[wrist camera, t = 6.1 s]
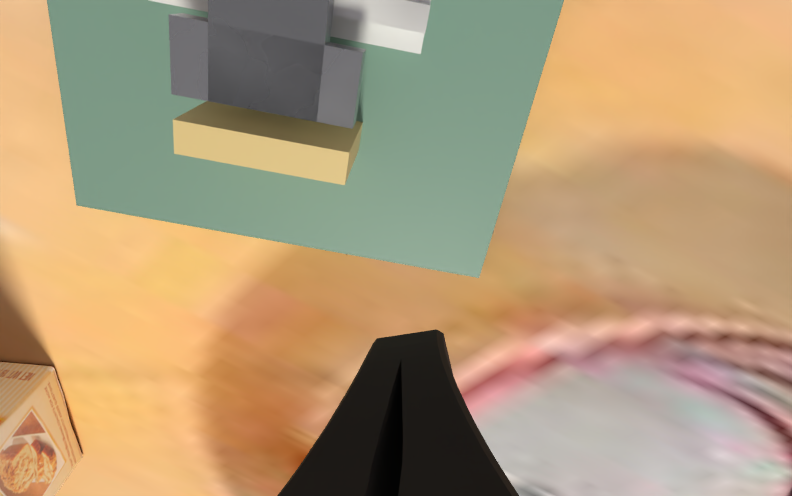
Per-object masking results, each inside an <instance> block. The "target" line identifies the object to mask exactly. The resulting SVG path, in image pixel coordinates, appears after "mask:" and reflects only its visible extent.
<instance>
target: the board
mask: <svg viewBox="0 0 792 496" xmlns="http://www.w3.org/2000/svg"><path fill="white" fill-rule="evenodd" d="M563 2H564V0H334V7H333V17H332V26H331V35H330V42H332V43H337V44H342V45H347V46H352V47H357V48H362V49H366V54H365V61H364V68H363V75H362V82H361V90H360V97H359V104H358V111H357V118H356V123H355V125H354V127H353V129H351V128H346V127H341V126H335V125H330V124H325V123H320V122H314V121H309V120H304V119H299V118H293V117H288V116H283V115H278V114H272V113H267V112H262V111H257V110H251V109H246V108H241V107H236V106H230V105H225V104H220V103H215V102H209V101H204V100H199V99H194V98H188V97H183V96H178V95H173V94H171V71H170V43H169V15H168V14H177V13H185V14H190V15H195V16H200V17H205V18H208V0H47V4H48V10H49V17H50V24H51V31H52V38H53V45H54V52H55V59H56V66H57V72H58V79H59V86H60V93H61V100H62V107H63V114H64V121H65V128H66V135H67V141H68V148H69V155H70V162H71V169H72V176H73V183H74V190H75V197H76V204H77V205H78V206H83V207H89V208H94V209H100V210H105V211H111V212H116V213H122V214H127V215H133V216H139V217H144V218H150V219H155V220H161V221H166V222H172V223H177V224H183V225H188V226H194V227H200V228H205V229H211V230H216V231H222V232H227V233H233V234H238V235H244V236H249V237H255V238H261V239H266V240H272V241H277V242H283V243H288V244H294V245H299V246H305V247H310V248H316V249H322V250H327V251H333V252H338V253H344V254H349V255H355V256H360V257H366V258H371V259H377V260H383V261H388V262H394V263H399V264H405V265H410V266H416V267H421V268H427V269H432V270H438V271H444V272H449V273H455V274H460V275H466V276H471V277H477V278H479V276H480V273H481V270H482V266H483V263H484V260H485V257H486V253H487V250H488V247H489V243H490V240H491V237H492V234H493V230H494V227H495V224H496V221H497V217H498V214H499V211H500V208H501V204H502V201H503V198H504V194H505V191H506V188H507V185H508V181H509V178H510V175H511V172H512V168H513V165H514V162H515V159H516V155H517V152H518V149H519V145H520V142H521V139H522V136H523V132H524V129H525V126H526V123H527V119H528V116H529V113H530V110H531V106H532V103H533V100H534V96H535V93H536V90H537V87H538V83H539V80H540V77H541V74H542V70H543V67H544V64H545V61H546V57H547V54H548V51H549V47H550V44H551V41H552V38H553V34H554V31H555V28H556V25H557V21H558V18H559V15H560V12H561V8H562V5H563Z"/></svg>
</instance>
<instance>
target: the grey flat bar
mask: <svg viewBox="0 0 792 496" xmlns="http://www.w3.org/2000/svg"><path fill="white" fill-rule="evenodd" d="M333 7H334V0H208V18H205V17H200V16H195V15H190V14H185V13H177V14H168V15H169V43H170V71H171V94H173V95H178V96H183V97H188V98H194V99H199V100H204V101H209V102H215V103H220V104H225V105H230V106H236V107H241V108H246V109H251V110H257V111H262V112H267V113H272V114H278V115H283V116H288V117H293V118H299V119H304V120H309V121H314V122H320V123H325V124H330V125H335V126H341V127H346V128H351V129H353V127H354V125H355V123H356V118H357V111H358V104H359V97H360V90H361V82H362V75H363V68H364V61H365V54H366V49H362V48H357V47H352V46H347V45H342V44H337V43H332V42H330V35H331V26H332V17H333Z"/></svg>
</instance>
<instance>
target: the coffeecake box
mask: <svg viewBox="0 0 792 496" xmlns="http://www.w3.org/2000/svg"><path fill="white" fill-rule="evenodd" d="M81 459H82V453H81V451H80V448H79V445H78V442H77V439H76V436H75V434H74V431H73V429H72V426H71V423H70V420H69V416H68V411H67V407H66V403H65V398H64V395H63V392H62V389H61V386H60V384H59V381H58V378H57V375H56V372H55V369H54V367H52V366H43V365H33V364H20V363H8V362H0V496H55V495H56V493H57V492H58V491H59V489H60V488H61V487H62V485H63V484H64V483H65V481H66V480H67V478H68V477H69V475H70V474H71V473H72V471H73V470H74V468H75V467H76V466H77V464H78V463H79V462H80V460H81Z"/></svg>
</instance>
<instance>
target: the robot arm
mask: <svg viewBox="0 0 792 496" xmlns="http://www.w3.org/2000/svg"><path fill="white" fill-rule="evenodd" d="M278 496H519V495H518V493H517V492H516V490H515V489H514V487H513V486H512V484H511V483H510V481H509V480H508V478H507V476H506V475H505V473H504V472H503V470H502V469H501V467H500V465H499V464H498V462H497V461H496V459H495V457H494V456H493V454H492V452H491V451H490V449H489V447H488V445H487V444H486V442H485V440H484V438H483V436H482V435H481V433H480V431H479V429H478V428H477V426H476V424H475V422H474V420H473V418H472V416H471V414H470V412H469V410H468V408H467V406H466V404H465V402H464V399H463V397H462V395H461V393H460V391H459V389H458V387H457V384H456V382H455V379H454V377H453V373H452V369H451V364H450V360H449V356H448V351H447V347H446V343H445V338H444V334H443V333H442V332H440V331H438V330H431V331H424V332H417V333H411V334H404V335H398V336H391V337H384V338H378V339H376V341H375V342H374V343H373V345H372V347H371V348H370V350H369V352H368V354H367V356H366V358H365V360H364V362H363V364H362V366H361V367H360V369H359V371H358V373H357V375H356V377H355V378H354V380H353V382H352V384H351V386H350V387H349V389H348V391H347V393H346V394H345V396H344V398H343V399H342V401H341V403H340V404H339V406H338V408H337V409H336V411H335V413H334V414H333V416H332V418H331V419H330V421H329V423H328V424H327V426H326V427H325V429H324V430H323V432H322V433H321V435H320V436H319V438H318V439H317V441H316V442H315V444H314V445H313V447H312V448H311V450H310V451H309V453H308V454H307V456H306V457H305V459H304V460H303V462H302V463H301V465H300V466H299V467H298V469H297V470H296V472H295V473H294V474H293V476H292V477H291V478H290V480H289V481H288V482H287V484H286V485H285V486H284V488H283V489H282V490H281V492H280V493H279V494H278Z"/></svg>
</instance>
